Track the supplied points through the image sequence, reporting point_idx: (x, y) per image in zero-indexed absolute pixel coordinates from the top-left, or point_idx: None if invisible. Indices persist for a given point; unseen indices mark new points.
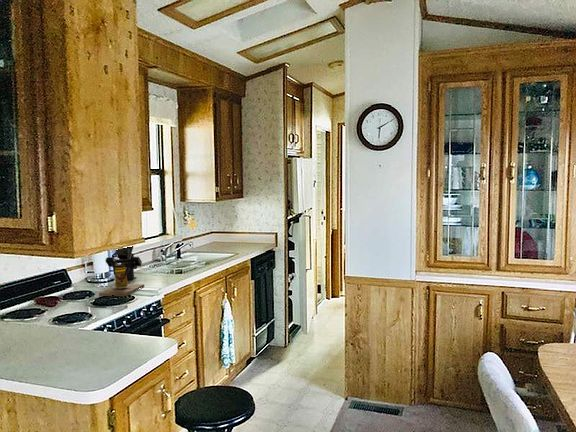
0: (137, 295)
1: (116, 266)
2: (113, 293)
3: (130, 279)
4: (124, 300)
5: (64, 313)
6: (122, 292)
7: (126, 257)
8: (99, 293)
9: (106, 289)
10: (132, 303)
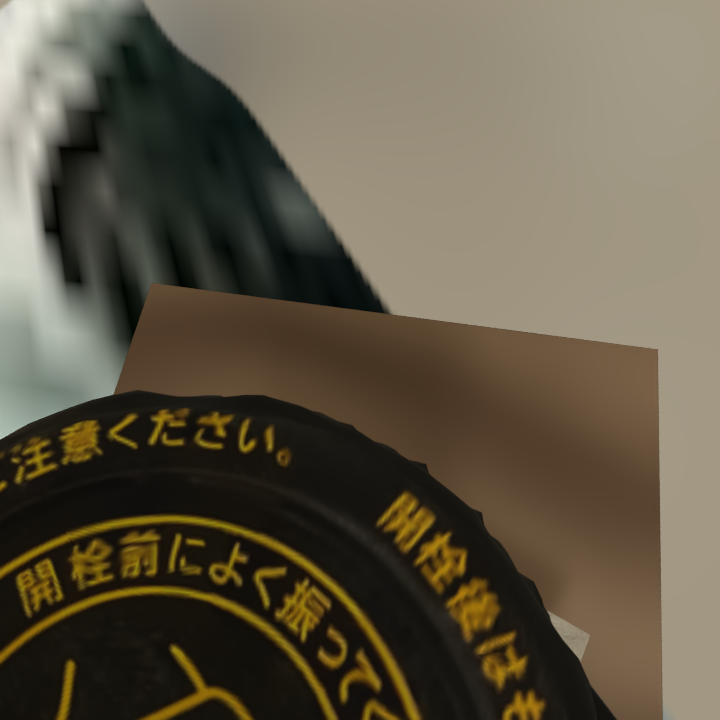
0: (16, 317)
1: (335, 424)
2: (377, 315)
3: None
4: (154, 110)
5: None
6: (232, 332)
7: None
8: (639, 351)
9: (656, 620)
10: (41, 6)
